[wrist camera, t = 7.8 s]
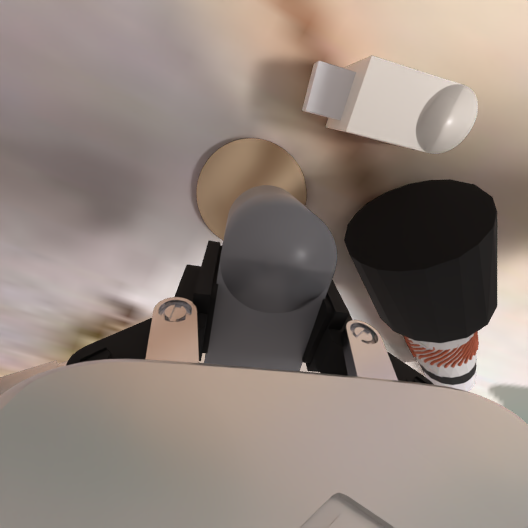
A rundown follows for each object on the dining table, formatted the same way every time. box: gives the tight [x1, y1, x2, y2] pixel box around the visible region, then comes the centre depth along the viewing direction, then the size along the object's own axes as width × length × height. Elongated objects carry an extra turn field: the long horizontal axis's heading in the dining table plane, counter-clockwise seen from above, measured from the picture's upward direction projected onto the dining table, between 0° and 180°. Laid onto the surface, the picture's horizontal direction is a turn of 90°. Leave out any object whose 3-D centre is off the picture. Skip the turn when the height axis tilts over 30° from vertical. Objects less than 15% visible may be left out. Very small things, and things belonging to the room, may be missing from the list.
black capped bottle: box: [344, 180, 497, 392], centre depth 29 cm, size 10×34×10 cm, turn 29°
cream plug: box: [302, 56, 478, 154], centre depth 18 cm, size 11×4×5 cm, turn 77°
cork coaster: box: [196, 138, 307, 240], centre depth 23 cm, size 10×10×1 cm
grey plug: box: [204, 185, 337, 371], centre depth 12 cm, size 11×4×5 cm, turn 168°
